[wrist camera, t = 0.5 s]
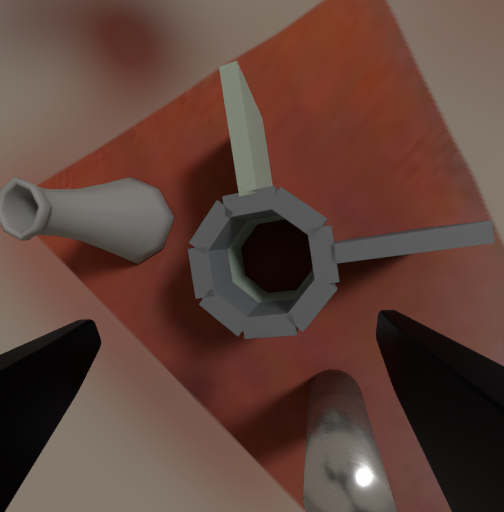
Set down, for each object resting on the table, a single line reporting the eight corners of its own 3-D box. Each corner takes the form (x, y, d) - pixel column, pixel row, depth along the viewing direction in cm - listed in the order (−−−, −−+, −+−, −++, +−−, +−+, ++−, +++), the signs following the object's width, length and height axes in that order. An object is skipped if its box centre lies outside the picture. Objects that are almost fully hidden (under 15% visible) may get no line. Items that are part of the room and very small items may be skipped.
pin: (373, 394, 20) (416, 510, 12) (339, 430, 21) (357, 565, 12) (329, 359, 21) (338, 445, 12) (298, 395, 22) (286, 501, 13)
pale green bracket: (336, 301, 20) (346, 331, 14) (236, 310, 22) (202, 342, 16) (307, 106, 20) (303, 38, 13) (209, 133, 22) (161, 86, 15)
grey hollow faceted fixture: (236, 310, 22) (202, 342, 16) (222, 215, 22) (180, 204, 15) (436, 290, 19) (504, 319, 12) (421, 177, 19) (480, 142, 12)
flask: (141, 277, 24) (26, 303, 15) (89, 225, 25) (-51, 216, 16) (189, 216, 23) (96, 199, 13) (132, 163, 24) (7, 111, 14)
